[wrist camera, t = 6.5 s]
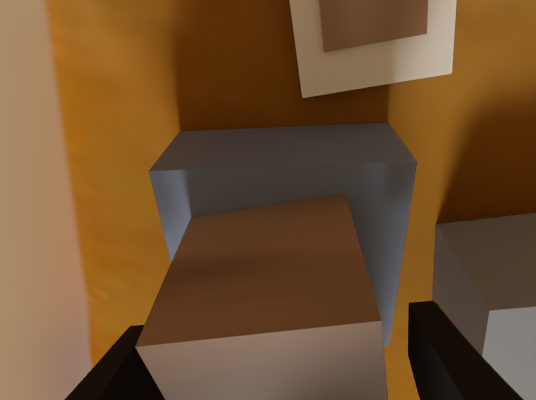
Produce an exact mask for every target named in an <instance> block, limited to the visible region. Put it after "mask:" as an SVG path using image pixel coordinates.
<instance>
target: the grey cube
mask: <svg viewBox="0 0 536 400" xmlns="http://www.w3.org/2000/svg"><path fill="white" fill-rule="evenodd" d="M432 301H434V302H436V303H437V304H438V305H439V307H440V308H441V309H442V310H443V312H444V313H445V314H446V315H447V317H448V318H449V319H450V320H451V321H452V323H453V324H454V325H455V326H456V327H457V329H458V330H459V331H460V332H461V333H462V334H463V336H464V337H465V338H466V339H467V340H468V341H469V342H470V344H471V345H472V346H473V347H474V348H475V349H476V350H477V351H478V352H479V354H480V355H481V356H482V357H483V358H484V359H485V360H486V361H487V362H488V363H489V364H490V365H491V366H492V368H493V369H494V370H495V371H496V372H497V373H498V374H499V375H500V376H501V377H502V378H503V379H504V380H505V381H506V382H507V383H508V384H509V385H510V386H511V387H512V388H513V389H514V390H515V391H516V392H517V393H518V394H519V395H520V396H521V397H522V398H523V399H524V400H536V213H528V214H519V215H511V216H502V217H494V218H485V219H476V220H468V221H459V222H451V223H442V224H436V229H435V250H434V271H433V292H432Z"/></svg>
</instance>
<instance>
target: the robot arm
mask: <svg viewBox="0 0 536 400" xmlns="http://www.w3.org/2000/svg"><path fill="white" fill-rule="evenodd" d="M143 328H144V325H137V326H130V327H129V328H128V329H127V330H126V331H125V332H124V334H123V335H122V336H121V337H120V338H119V339H118V340H117V341H116V343H115V344H114V345H113V346H112V347H111V348H110V349H109V350H108V352H107V353H106V354H105V355H104V356H103V357H102V358H101V360H100V361H99V362H98V363H97V364H96V365H95V366H94V368H93V369H92V370H91V371H90V372H89V373H88V374H87V376H86V377H85V378H84V379H83V380H82V381H81V382H80V383H79V384H78V386H77V387H76V388H75V389H74V390H73V391H72V392H71V393H70V395H68V397H67V398H66V399H65V400H165V398H164V396H163V395H162V393H161V391H160V389H159V388H158V386H157V384H156V382H155V381H154V379H153V377H152V376H151V374H150V372H149V370H148V369H147V367H146V365H145V363H144V362H143V360H142V358H141V356H140V355H139V353H138V351H137V349H136V348H135V346H136V344H137V341H138V339H139V337H140V335H141V332H142V330H143ZM408 356H409V360H410V364H411V368H412V372H413V376H414V379H415V383H416V387H417V390H418V394H419V397H420V400H524V399H523V398H522V397H521V396H520V395H519V394H518V393H517V392H516V391H515V390H514V389H513V388H512V387H511V386H510V385H509V384H508V383H507V382H506V381H505V380H504V379H503V378H502V377H501V376H500V375H499V374H498V373H497V372H496V371H495V370H494V369H493V368H492V366H491V365H490V364H489V363H488V362H487V361H486V360H485V359H484V358H483V357H482V356H481V355H480V354H479V352H478V351H477V350H476V349H475V348H474V347H473V346H472V345H471V344H470V342H469V341H468V340H467V339H466V338H465V337H464V336H463V334H462V333H461V332H460V331H459V330H458V329H457V327H456V326H455V325H454V324H453V323H452V321H451V320H450V319H449V318H448V317H447V315H446V314H445V313H444V312H443V310H442V309H441V308H440V307H439V305H438V304H437V303H436V302H434V301H425V302H413V303H409V321H408Z"/></svg>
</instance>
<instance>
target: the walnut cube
mask: <svg viewBox="0 0 536 400" xmlns="http://www.w3.org/2000/svg"><path fill="white" fill-rule="evenodd" d="M135 348H136V349H137V351H138V353H139V355H140V356H141V358H142V360H143V362H144V363H145V365H146V367H147V369H148V370H149V372H150V374H151V376H152V377H153V379H154V381H155V382H156V384H157V386H158V388H159V389H160V391H161V393H162V395H163V396H164V398H165V400H388V394H387V382H386V370H385V358H384V345H383V333H382V321H381V317H380V314H379V310H378V307H377V303H376V300H375V296H374V293H373V289H372V286H371V282H370V279H369V275H368V272H367V268H366V265H365V261H364V258H363V254H362V251H361V247H360V244H359V240H358V237H357V233H356V230H355V226H354V223H353V219H352V216H351V212H350V209H349V205H348V202H347V198H346V195H345V193H343V194H337V195H330V196H324V197H318V198H311V199H305V200H299V201H292V202H286V203H280V204H273V205H267V206H261V207H254V208H248V209H242V210H235V211H229V212H222V213H216V214H210V215H203V216H197V217H191V218H190V221H189V223H188V225H187V228H186V230H185V232H184V235H183V237H182V239H181V242H180V244H179V246H178V249H177V251H176V253H175V256H174V258H173V260H172V262H171V265H170V267H169V269H168V272H167V274H166V276H165V279H164V281H163V283H162V286H161V288H160V290H159V293H158V295H157V297H156V300H155V302H154V304H153V307H152V309H151V311H150V314H149V316H148V318H147V321H146V323H145V325H144V328H143V330H142V332H141V335H140V337H139V339H138V341H137V344H136V346H135Z"/></svg>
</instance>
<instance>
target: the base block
mask: <svg viewBox="0 0 536 400" xmlns="http://www.w3.org/2000/svg"><path fill="white" fill-rule="evenodd" d="M416 165H417V161H416V160H415V158H414V157H413V156H412V154H411V153H410V151H409V150H408V149H407V147H406V146H405V145H404V143H403V142H402V141H401V139H400V138H399V137H398V135H397V134H396V133H395V131H394V130H393V129H392V127H391V126H390V125H389V123H388V122H381V123H358V124H334V125H311V126H288V127H265V128H242V129H219V130H195V131H180V132H179V133H178V135H177V136H176V137H175V138H174V140H173V141H172V142H171V143H170V145H169V146H168V147H167V149H166V150H165V151H164V152H163V154H162V155H161V156H160V157H159V159H158V160H157V161H156V163H155V164H154V165H153V166H152V168H151V169H150V170H149V174H150V178H151V182H152V186H153V190H154V194H155V198H156V202H157V206H158V210H159V214H160V218H161V222H162V226H163V230H164V235H165V239H166V243H167V247H168V251H169V255H170V259H171V262H172V260H173V258H174V256H175V253H176V251H177V249H178V246H179V244H180V242H181V239H182V237H183V235H184V232H185V230H186V228H187V225H188V223H189V221H190V218H191V217H197V216H203V215H210V214H216V213H222V212H229V211H235V210H242V209H248V208H254V207H261V206H267V205H273V204H280V203H286V202H292V201H299V200H305V199H311V198H318V197H324V196H330V195H337V194H343V193H345V195H346V198H347V202H348V205H349V209H350V212H351V216H352V219H353V223H354V226H355V230H356V233H357V237H358V240H359V244H360V247H361V251H362V254H363V258H364V261H365V265H366V268H367V272H368V275H369V279H370V282H371V286H372V289H373V293H374V296H375V300H376V303H377V307H378V310H379V314H380V317H381V321H382V333H383V345H384V346H389V343H390V336H391V329H392V323H393V316H394V310H395V303H396V296H397V290H398V283H399V277H400V270H401V263H402V257H403V250H404V244H405V237H406V231H407V224H408V217H409V211H410V204H411V198H412V191H413V184H414V178H415V171H416Z"/></svg>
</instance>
